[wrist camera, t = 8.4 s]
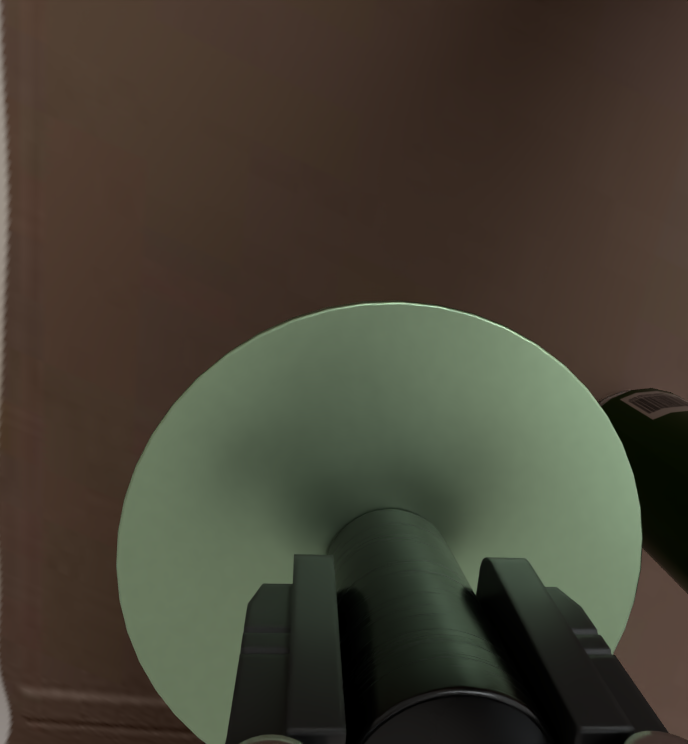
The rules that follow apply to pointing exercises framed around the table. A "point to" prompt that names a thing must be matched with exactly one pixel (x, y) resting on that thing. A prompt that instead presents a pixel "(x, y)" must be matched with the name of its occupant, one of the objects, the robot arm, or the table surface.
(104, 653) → the table surface
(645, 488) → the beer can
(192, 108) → the table surface
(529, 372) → the bin lid
